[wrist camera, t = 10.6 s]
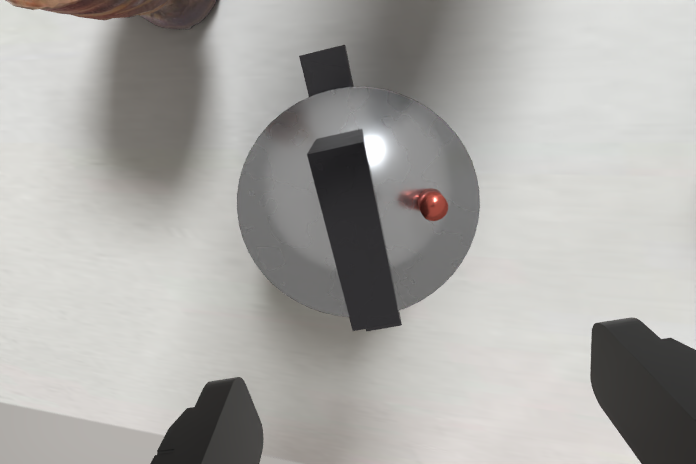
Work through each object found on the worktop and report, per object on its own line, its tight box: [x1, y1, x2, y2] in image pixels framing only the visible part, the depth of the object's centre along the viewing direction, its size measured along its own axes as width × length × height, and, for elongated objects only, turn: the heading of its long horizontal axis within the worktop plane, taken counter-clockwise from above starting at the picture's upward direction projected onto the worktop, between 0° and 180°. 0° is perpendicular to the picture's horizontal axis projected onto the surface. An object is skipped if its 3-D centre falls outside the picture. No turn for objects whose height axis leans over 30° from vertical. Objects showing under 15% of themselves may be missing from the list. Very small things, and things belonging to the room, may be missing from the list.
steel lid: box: [237, 87, 480, 331], centre depth 21 cm, size 13×13×6 cm
